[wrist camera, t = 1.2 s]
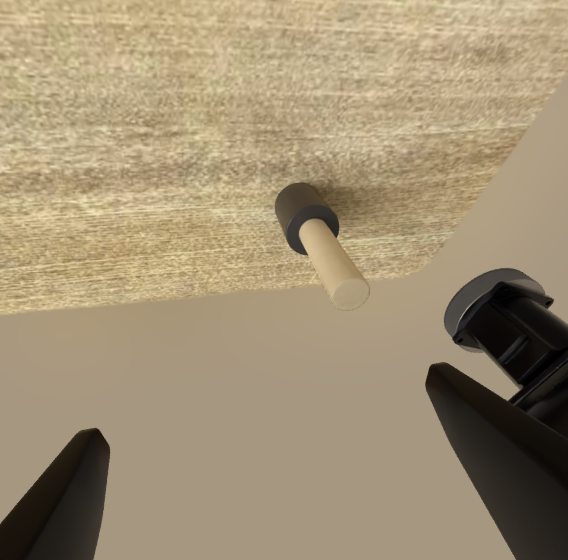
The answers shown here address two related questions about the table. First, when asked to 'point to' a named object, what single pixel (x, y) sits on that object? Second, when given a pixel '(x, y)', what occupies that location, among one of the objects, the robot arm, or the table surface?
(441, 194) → the table surface
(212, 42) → the table surface
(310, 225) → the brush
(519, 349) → the robot arm
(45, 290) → the table surface
